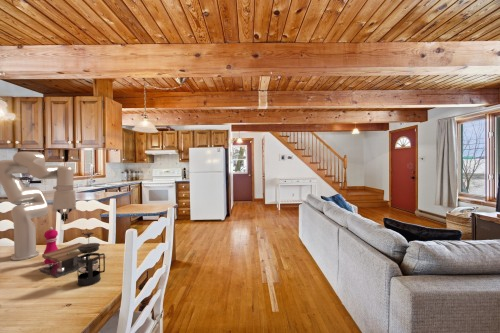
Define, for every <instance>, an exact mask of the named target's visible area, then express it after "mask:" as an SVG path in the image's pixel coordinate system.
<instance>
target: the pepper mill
mask: <svg viewBox="0 0 500 333" xmlns="http://www.w3.org/2000/svg"><path fill="white" fill-rule="evenodd" d="M58 235H59V233H58V231H57V229H54V227H53V226H50V227H49V228H48V230H46V231H45V232H44V235H43V236H44V239H45V243H46V247H45V249H44V251H43V254H45V253H48V252H52V251H55V250H58V249H59V248H58V246H57V241H58V238H57V237H58ZM43 259H44V261H43V264H44V265H46V264H48V263H53V265H54V264H57V263H58V262H56V261H52V260H49V259H46V258H43Z"/></svg>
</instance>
